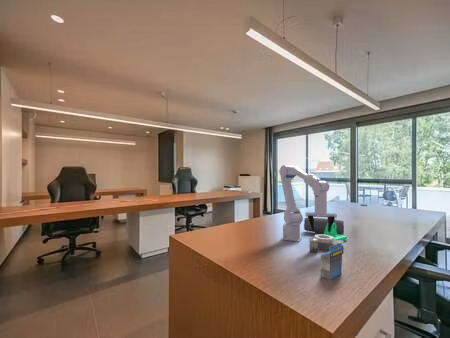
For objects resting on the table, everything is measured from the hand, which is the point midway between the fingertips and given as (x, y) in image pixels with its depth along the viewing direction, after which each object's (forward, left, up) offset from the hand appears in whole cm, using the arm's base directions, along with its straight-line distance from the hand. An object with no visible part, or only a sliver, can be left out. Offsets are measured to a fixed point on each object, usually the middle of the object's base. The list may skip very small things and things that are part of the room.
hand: (320, 231), depth 113 cm
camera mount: (+6, +21, -10) cm, 24 cm away
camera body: (+3, +6, -10) cm, 11 cm away
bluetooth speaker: (-1, +33, -10) cm, 35 cm away
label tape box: (+6, -28, -10) cm, 31 cm away
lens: (-3, -3, -10) cm, 11 cm away
